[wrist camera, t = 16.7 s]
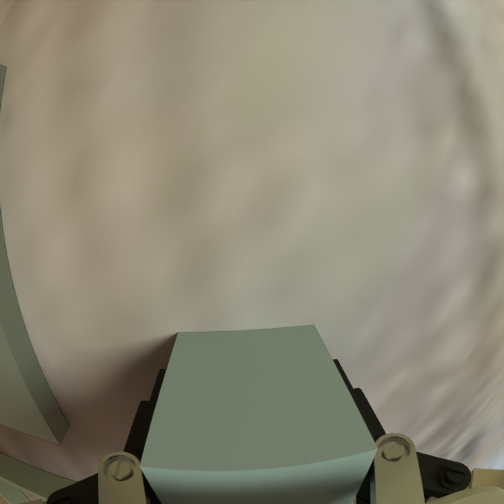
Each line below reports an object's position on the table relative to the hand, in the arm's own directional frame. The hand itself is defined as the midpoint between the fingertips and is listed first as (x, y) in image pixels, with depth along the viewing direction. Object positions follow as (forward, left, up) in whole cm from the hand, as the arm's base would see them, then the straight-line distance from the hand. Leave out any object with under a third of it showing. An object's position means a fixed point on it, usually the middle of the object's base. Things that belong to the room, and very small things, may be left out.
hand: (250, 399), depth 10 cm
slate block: (0, 0, -1) cm, 1 cm away
